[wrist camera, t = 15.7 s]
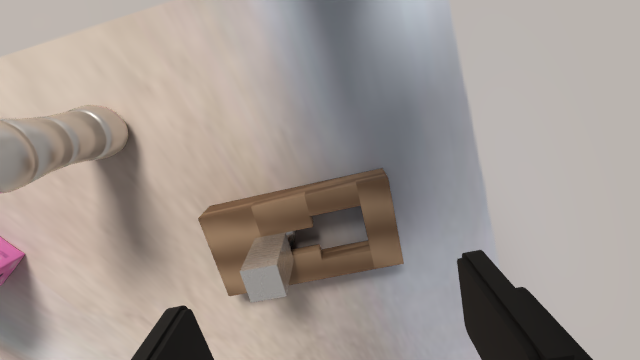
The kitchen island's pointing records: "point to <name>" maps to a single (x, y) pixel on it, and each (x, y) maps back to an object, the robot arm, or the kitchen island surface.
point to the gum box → (8, 259)
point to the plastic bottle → (57, 143)
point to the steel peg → (268, 266)
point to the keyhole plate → (296, 213)
